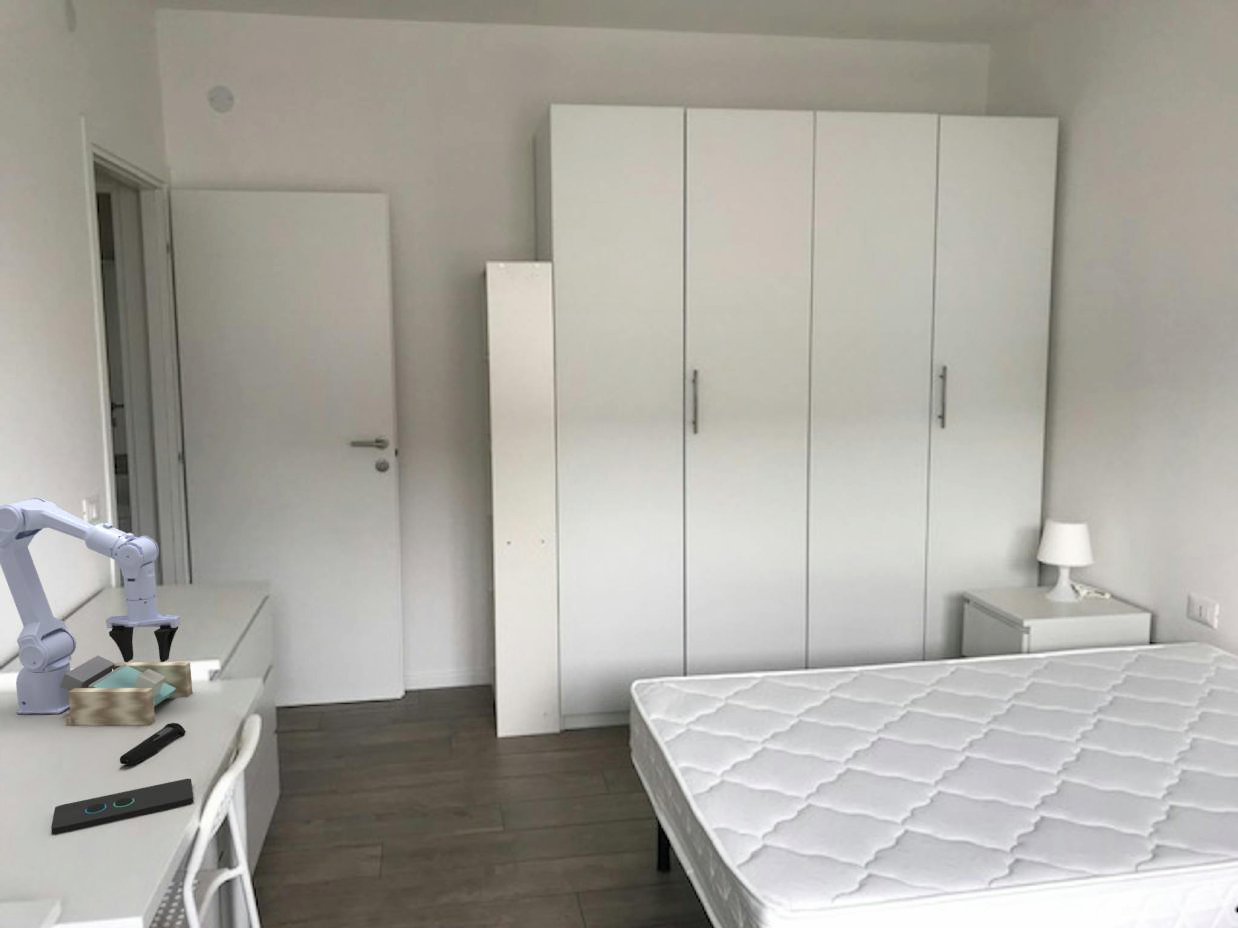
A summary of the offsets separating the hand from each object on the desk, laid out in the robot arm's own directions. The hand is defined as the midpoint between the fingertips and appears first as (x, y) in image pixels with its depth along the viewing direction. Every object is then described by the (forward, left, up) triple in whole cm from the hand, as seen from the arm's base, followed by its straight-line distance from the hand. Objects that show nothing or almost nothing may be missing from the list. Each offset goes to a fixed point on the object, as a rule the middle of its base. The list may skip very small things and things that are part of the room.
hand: (146, 660), depth 189 cm
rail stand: (-4, 0, -10) cm, 11 cm away
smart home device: (+19, -41, -11) cm, 47 cm away
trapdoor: (-7, 0, -7) cm, 10 cm away
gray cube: (-1, 0, -7) cm, 7 cm away
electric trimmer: (+12, -19, -11) cm, 25 cm away
